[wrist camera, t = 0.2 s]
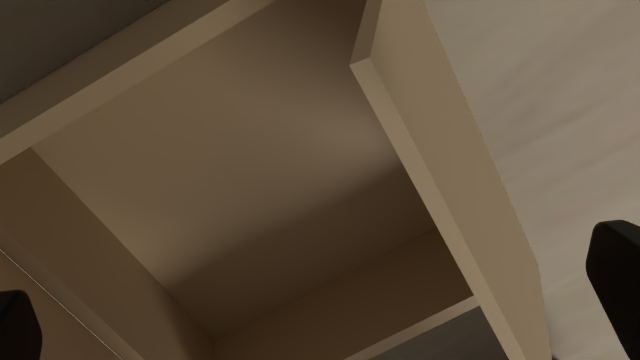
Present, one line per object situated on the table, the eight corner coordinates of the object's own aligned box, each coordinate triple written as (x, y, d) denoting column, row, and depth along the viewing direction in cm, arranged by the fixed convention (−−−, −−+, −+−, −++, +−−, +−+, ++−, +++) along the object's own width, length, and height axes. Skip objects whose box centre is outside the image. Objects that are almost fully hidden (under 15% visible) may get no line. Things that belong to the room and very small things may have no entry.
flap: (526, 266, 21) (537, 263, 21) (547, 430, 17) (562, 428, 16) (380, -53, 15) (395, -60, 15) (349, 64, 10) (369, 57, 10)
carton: (481, 206, 26) (532, 279, 22) (211, 345, 28) (209, 437, 24) (335, -102, 19) (367, -83, 15) (-13, 111, 21) (-74, 183, 17)
